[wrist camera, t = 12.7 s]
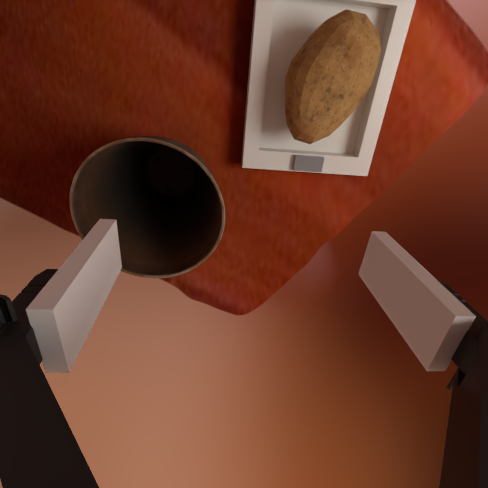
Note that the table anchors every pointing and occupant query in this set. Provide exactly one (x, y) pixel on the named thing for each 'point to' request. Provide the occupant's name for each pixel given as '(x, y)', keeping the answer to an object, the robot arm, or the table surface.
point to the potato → (330, 75)
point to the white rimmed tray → (273, 86)
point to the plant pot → (151, 204)
